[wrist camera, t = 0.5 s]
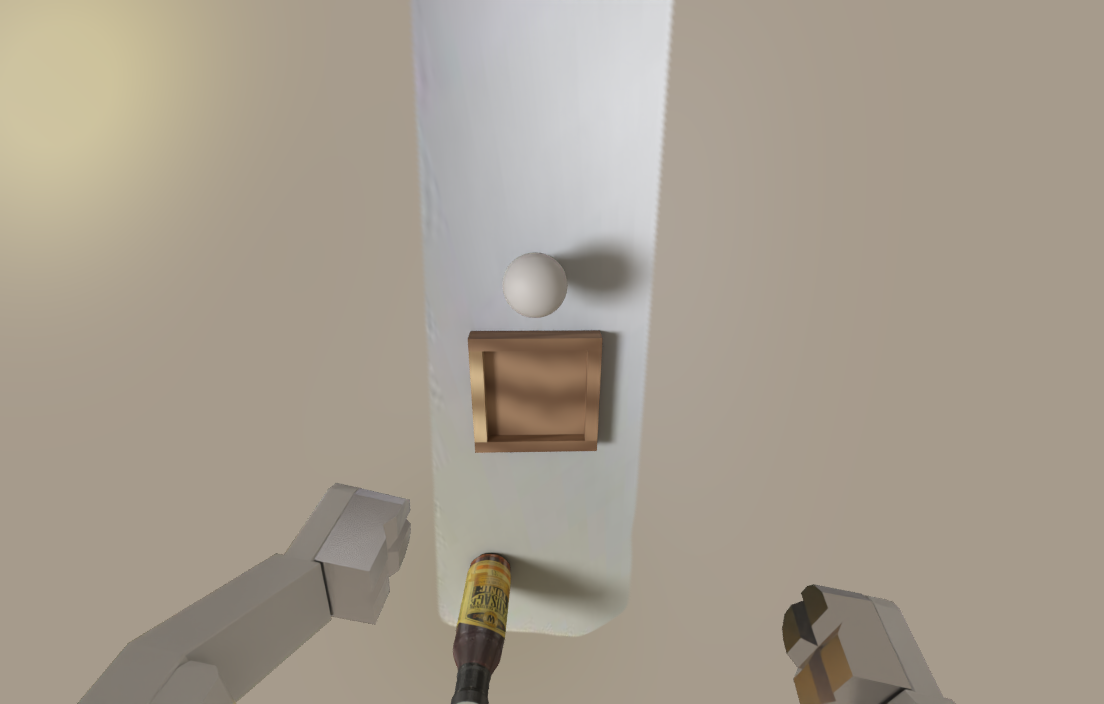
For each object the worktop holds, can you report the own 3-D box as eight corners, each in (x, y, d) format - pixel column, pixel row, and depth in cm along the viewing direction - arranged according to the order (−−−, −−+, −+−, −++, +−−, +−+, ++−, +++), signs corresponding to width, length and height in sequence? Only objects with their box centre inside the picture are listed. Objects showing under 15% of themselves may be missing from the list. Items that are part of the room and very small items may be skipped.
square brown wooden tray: (470, 331, 55) (467, 339, 52) (599, 330, 55) (602, 338, 53) (477, 441, 60) (475, 452, 58) (594, 439, 61) (596, 450, 59)
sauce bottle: (519, 559, 69) (513, 707, 50) (499, 587, 71) (487, 739, 52) (478, 543, 67) (457, 690, 49) (459, 572, 69) (432, 723, 51)
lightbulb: (573, 275, 53) (582, 304, 42) (527, 303, 54) (525, 338, 44) (543, 227, 50) (545, 246, 40) (496, 258, 52) (486, 284, 41)
